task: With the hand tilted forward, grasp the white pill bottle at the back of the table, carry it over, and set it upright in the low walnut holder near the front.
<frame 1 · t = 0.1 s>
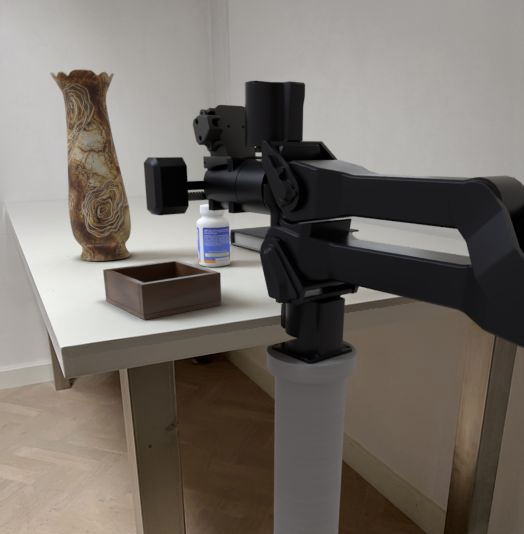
hand: (184, 181, 73), 14 cm above the table, tool horizontal, fingers open, 9 cm apart
pill bottle: (214, 265, 93), on the table
book: (293, 245, 113), on the table
holder: (163, 303, 70), on the table
vase: (103, 258, 100), on the table
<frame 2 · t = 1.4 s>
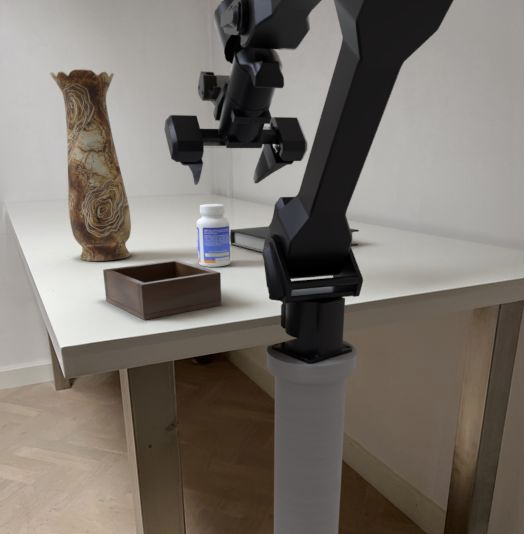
hand: (225, 181, 82), 14 cm above the table, tool tilted 45°, fingers open, 9 cm apart
nothing on the table moved.
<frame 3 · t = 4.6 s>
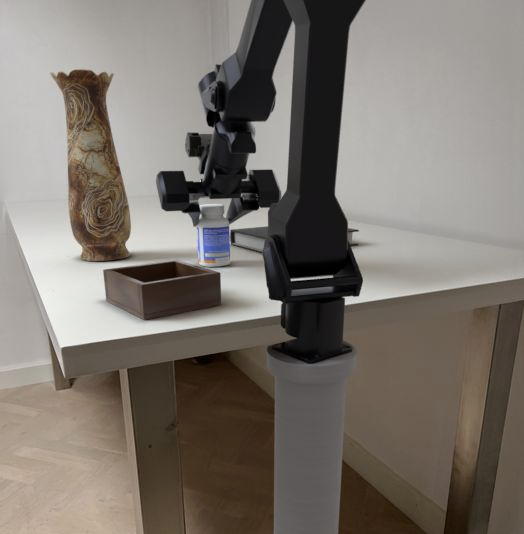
hand: (210, 223, 92), 7 cm above the table, tool tilted 45°, fingers closed on pill bottle, 5 cm apart
pill bottle: (214, 265, 93), on the table, touching gripper
everything else where it was.
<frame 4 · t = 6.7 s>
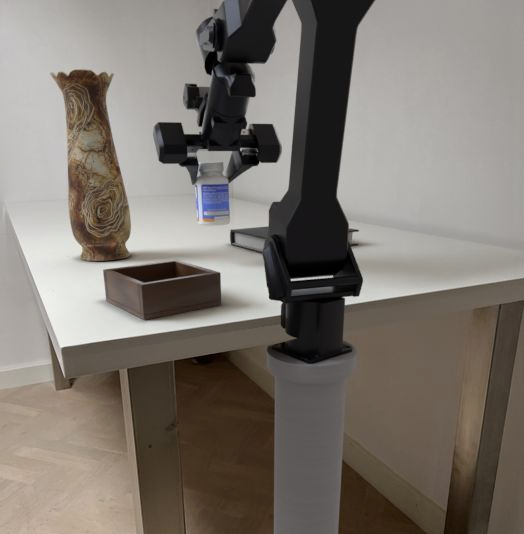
hand: (209, 182, 90), 13 cm above the table, tool tilted 45°, fingers closed on pill bottle, 5 cm apart
pill bottle: (213, 225, 91), point 6 cm above the table, touching gripper
everything else where it was.
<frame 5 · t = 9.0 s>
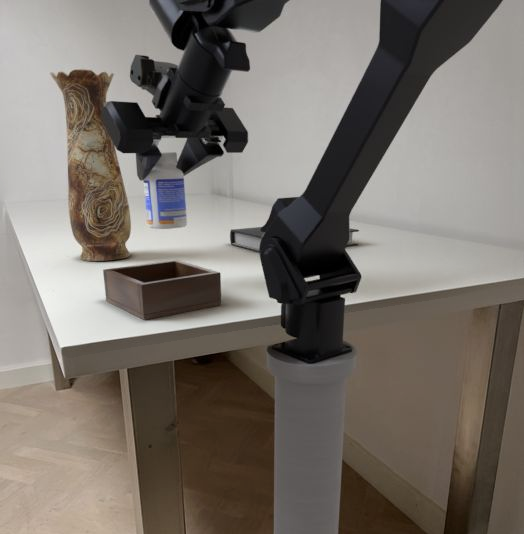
hand: (158, 177, 75), 15 cm above the table, tool tilted 45°, fingers closed on pill bottle, 5 cm apart
pill bottle: (167, 228, 77), point 8 cm above the table, touching gripper
everything else where it was.
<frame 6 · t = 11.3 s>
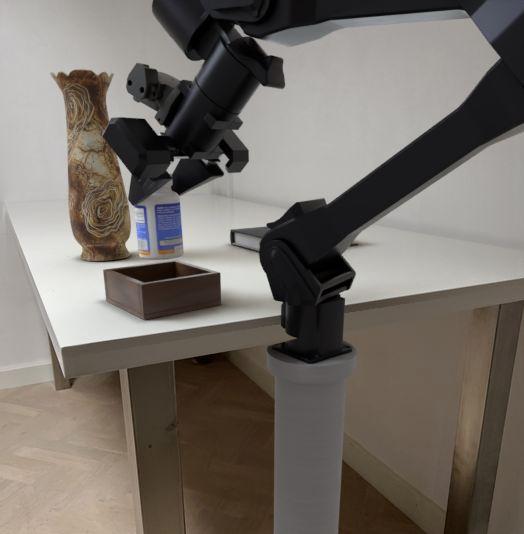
hand: (148, 201, 66), 12 cm above the table, tool tilted 45°, fingers closed on pill bottle, 5 cm apart
pill bottle: (161, 258, 68), point 6 cm above the table, touching gripper
everything else where it was.
when the fingers open (7 cm above the table, at t = 13.3 s): pill bottle stays where it is, resting on holder.
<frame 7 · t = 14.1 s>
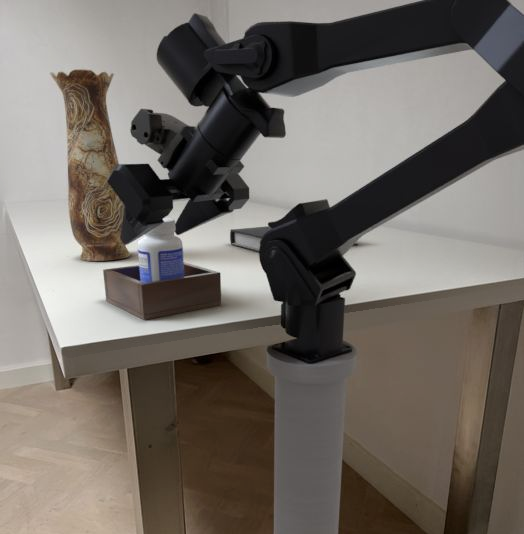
hand: (150, 236, 68), 8 cm above the table, tool tilted 45°, fingers open, 9 cm apart
pill bottle: (163, 300, 70), resting on holder
everything else where it was.
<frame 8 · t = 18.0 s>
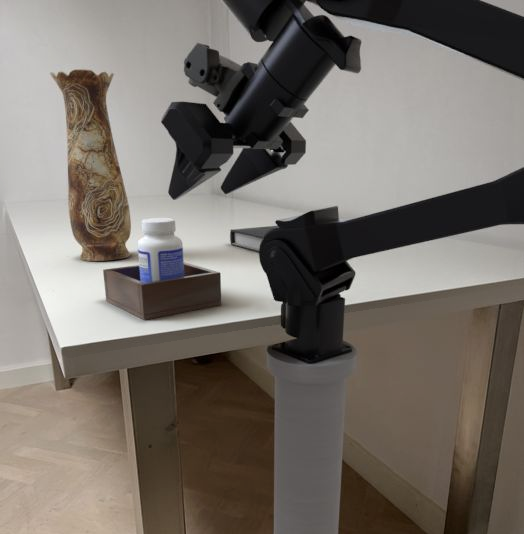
hand: (199, 193, 62), 14 cm above the table, tool tilted 45°, fingers open, 9 cm apart
nothing on the table moved.
at the end: pill bottle inside the target area in the holder (0.1 cm from its centre), point 0.4 cm above the holder's base; pill bottle tilted 0°; the gripper is holding nothing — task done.
